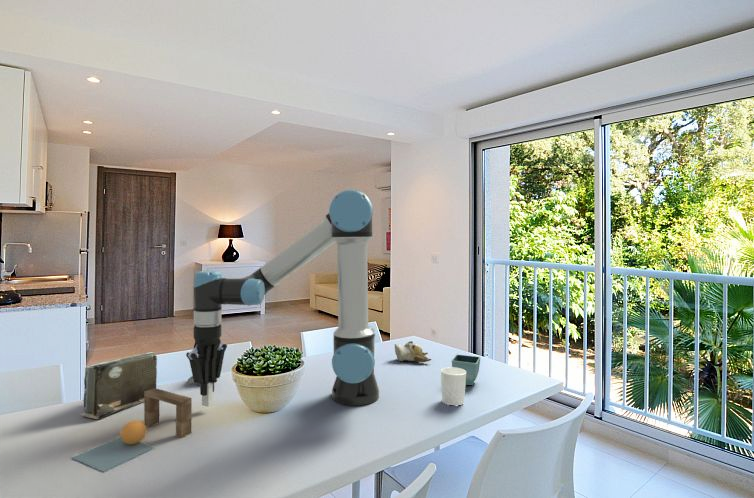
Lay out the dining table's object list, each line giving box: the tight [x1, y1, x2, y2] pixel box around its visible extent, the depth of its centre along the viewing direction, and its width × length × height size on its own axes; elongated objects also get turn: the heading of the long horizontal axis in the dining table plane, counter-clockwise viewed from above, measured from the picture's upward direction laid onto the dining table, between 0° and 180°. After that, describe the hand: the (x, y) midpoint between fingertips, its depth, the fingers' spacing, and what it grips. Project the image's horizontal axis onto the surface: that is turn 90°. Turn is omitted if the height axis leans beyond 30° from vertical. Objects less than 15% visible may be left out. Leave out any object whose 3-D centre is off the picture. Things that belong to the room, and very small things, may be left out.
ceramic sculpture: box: [394, 340, 432, 363], centre depth 177 cm, size 11×9×15 cm
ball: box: [120, 419, 147, 445], centre depth 104 cm, size 6×6×6 cm
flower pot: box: [451, 354, 481, 386], centre depth 151 cm, size 9×9×9 cm
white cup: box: [440, 366, 466, 406], centre depth 134 cm, size 8×8×10 cm
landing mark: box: [71, 436, 155, 473], centre depth 100 cm, size 12×12×1 cm
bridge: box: [143, 387, 193, 439], centre depth 112 cm, size 3×14×9 cm, turn 63°
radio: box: [80, 351, 158, 420], centre depth 128 cm, size 23×9×15 cm, turn 155°
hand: (207, 404), depth 124 cm, fingers closed
